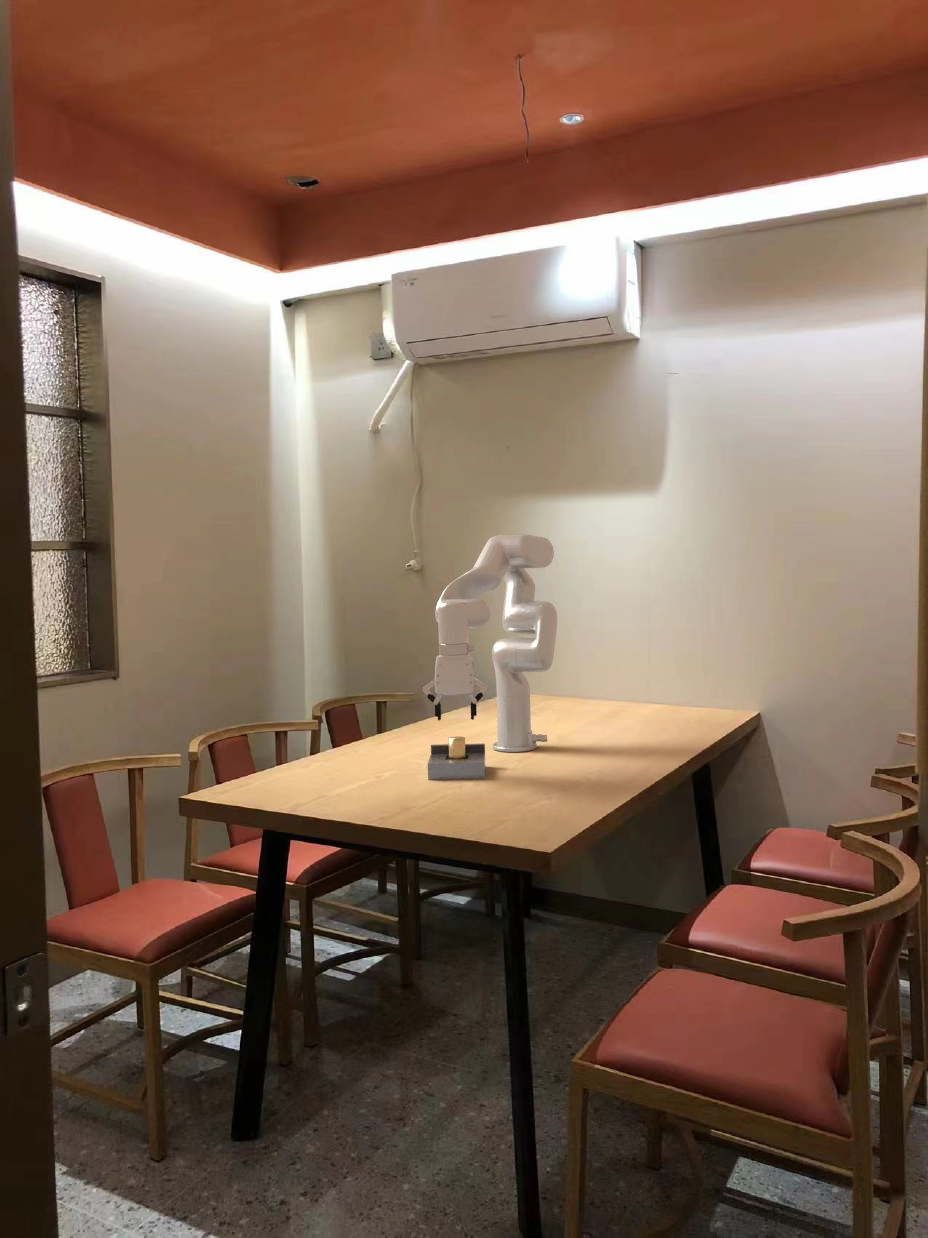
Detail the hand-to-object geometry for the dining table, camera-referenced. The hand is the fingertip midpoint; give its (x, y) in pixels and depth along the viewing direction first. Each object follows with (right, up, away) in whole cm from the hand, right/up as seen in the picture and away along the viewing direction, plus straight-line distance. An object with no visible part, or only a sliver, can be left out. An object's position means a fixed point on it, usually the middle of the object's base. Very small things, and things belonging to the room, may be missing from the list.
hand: (456, 718), depth 247 cm
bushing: (0, -14, +1) cm, 14 cm away
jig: (0, -14, +1) cm, 14 cm away
